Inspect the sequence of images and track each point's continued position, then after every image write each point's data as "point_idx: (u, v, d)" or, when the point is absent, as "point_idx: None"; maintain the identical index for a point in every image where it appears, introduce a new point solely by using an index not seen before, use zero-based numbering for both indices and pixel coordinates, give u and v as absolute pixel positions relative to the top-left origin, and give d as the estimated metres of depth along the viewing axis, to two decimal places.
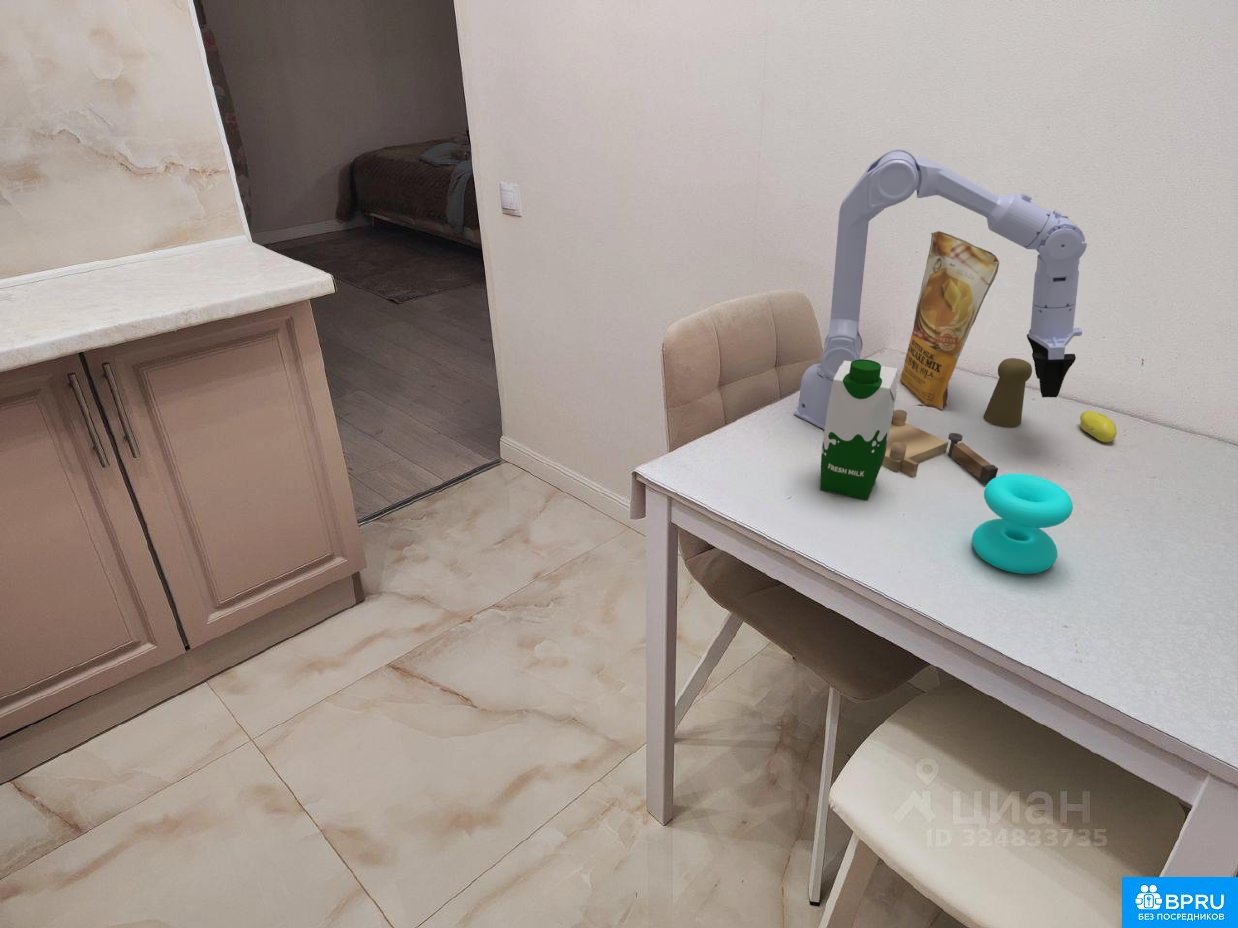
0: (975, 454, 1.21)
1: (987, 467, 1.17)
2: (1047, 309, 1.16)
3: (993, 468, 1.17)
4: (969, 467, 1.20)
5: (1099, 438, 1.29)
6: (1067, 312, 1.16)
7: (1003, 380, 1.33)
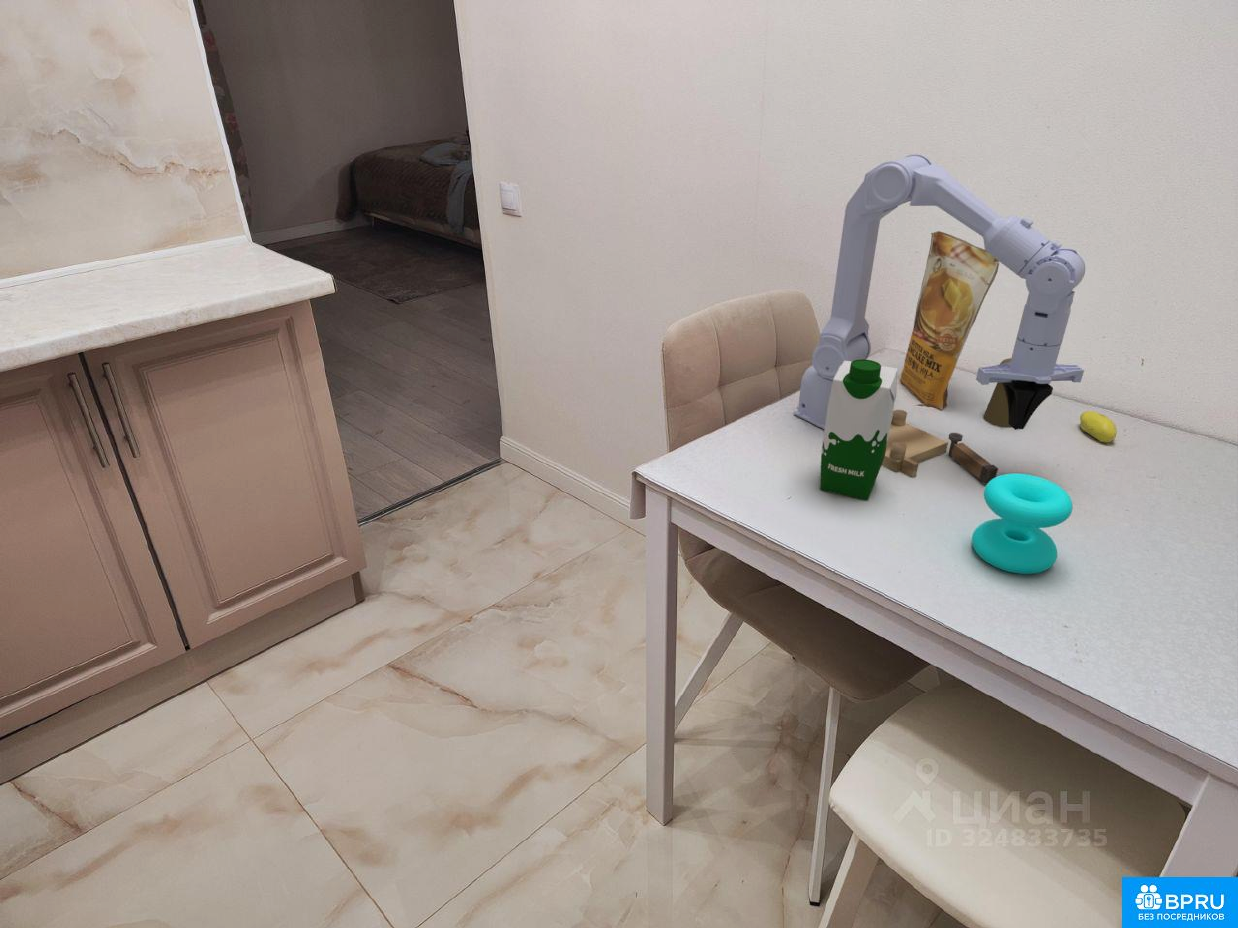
0: (975, 454, 1.21)
1: (987, 467, 1.17)
2: (1016, 338, 1.11)
3: (993, 468, 1.17)
4: (969, 467, 1.20)
5: (1099, 438, 1.29)
6: (1026, 349, 1.09)
7: None
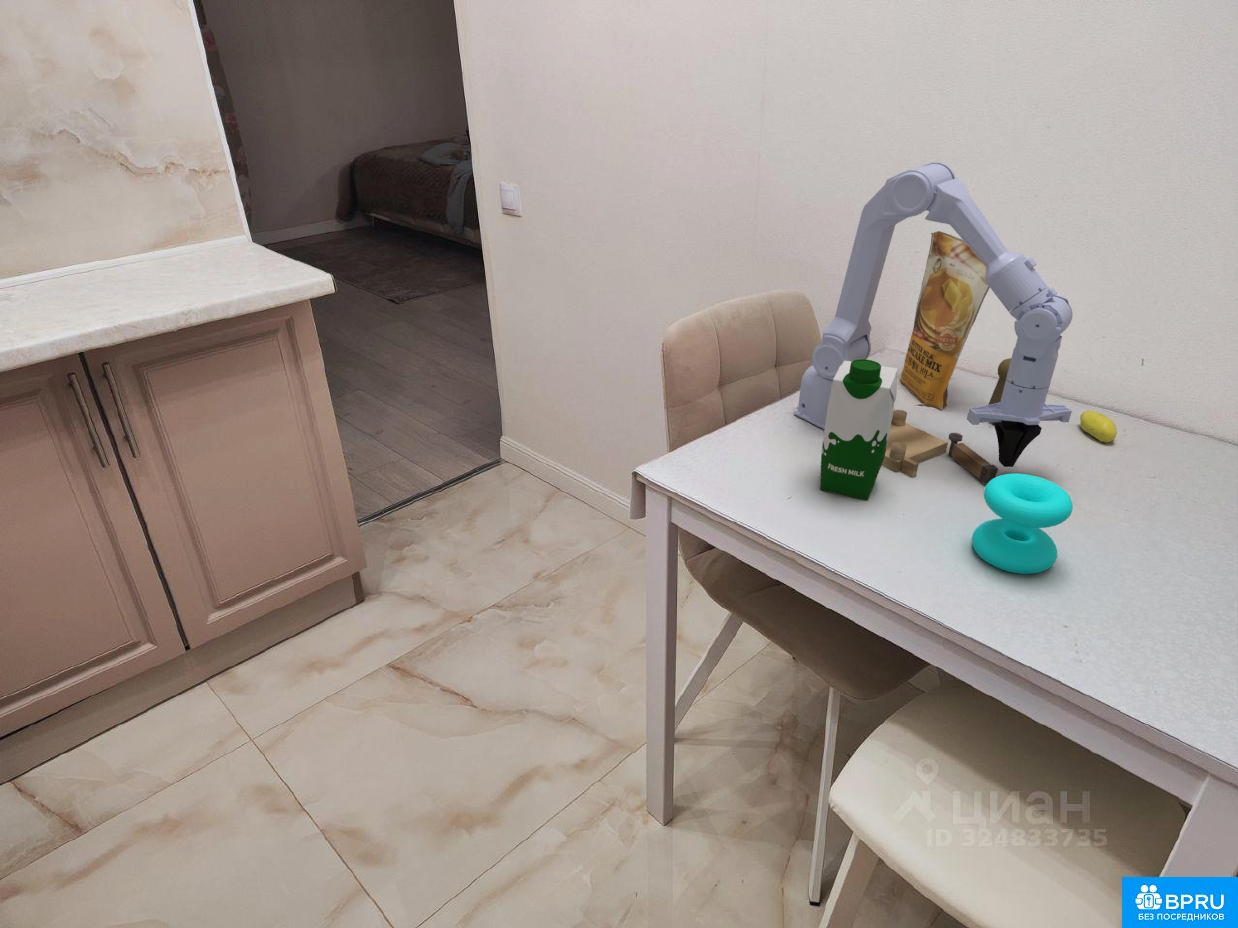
0: (975, 454, 1.21)
1: (987, 467, 1.17)
2: (1006, 379, 1.14)
3: (993, 468, 1.17)
4: (969, 467, 1.20)
5: (1099, 438, 1.29)
6: (1015, 391, 1.12)
7: (1003, 380, 1.33)
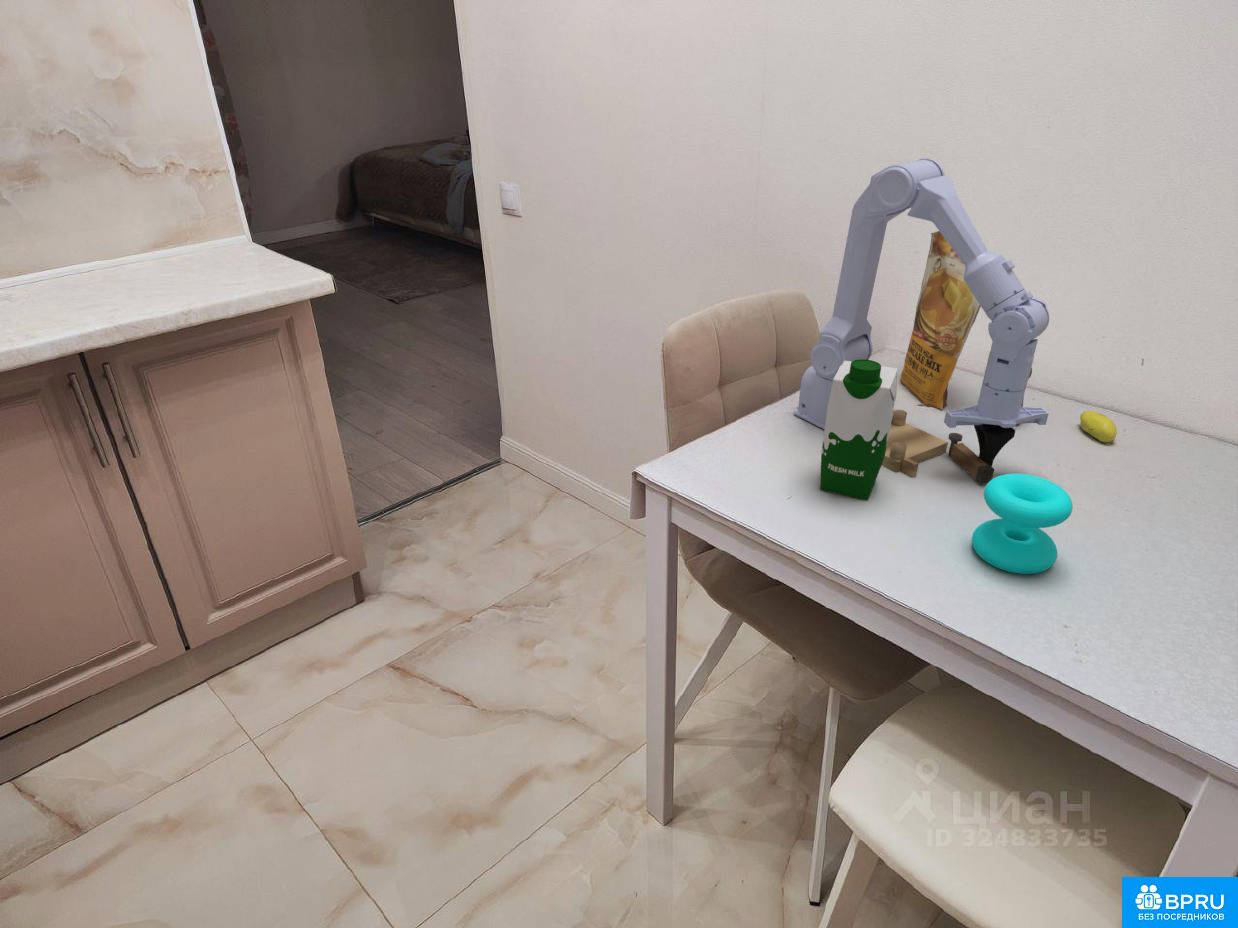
0: (973, 454, 1.21)
1: (983, 467, 1.17)
2: None
3: (989, 468, 1.16)
4: (966, 467, 1.20)
5: (1099, 438, 1.29)
6: (991, 394, 1.12)
7: None
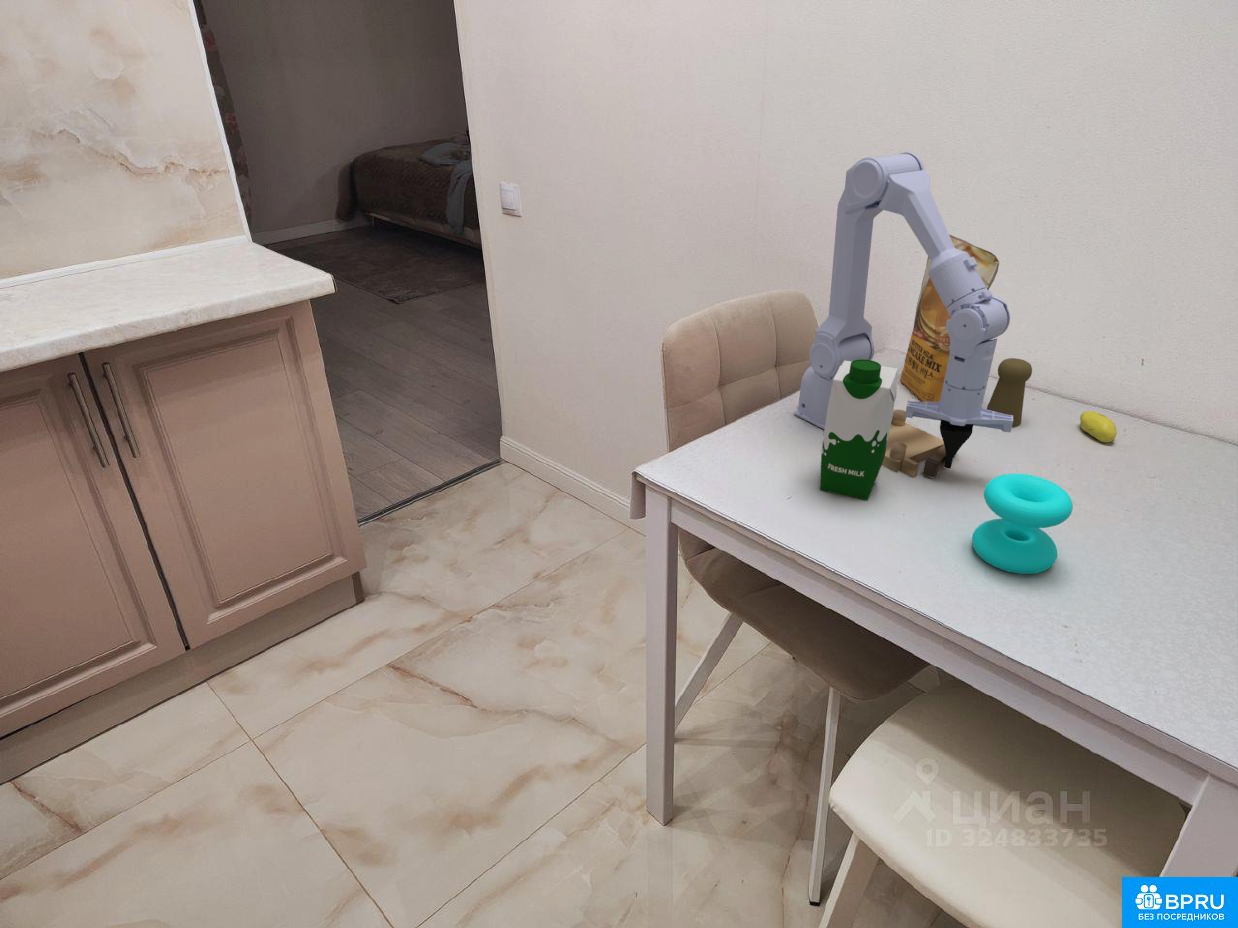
0: (945, 452, 1.21)
1: (929, 459, 1.19)
2: None
3: (933, 462, 1.18)
4: None
5: (1099, 438, 1.29)
6: (946, 389, 1.13)
7: (1003, 380, 1.33)
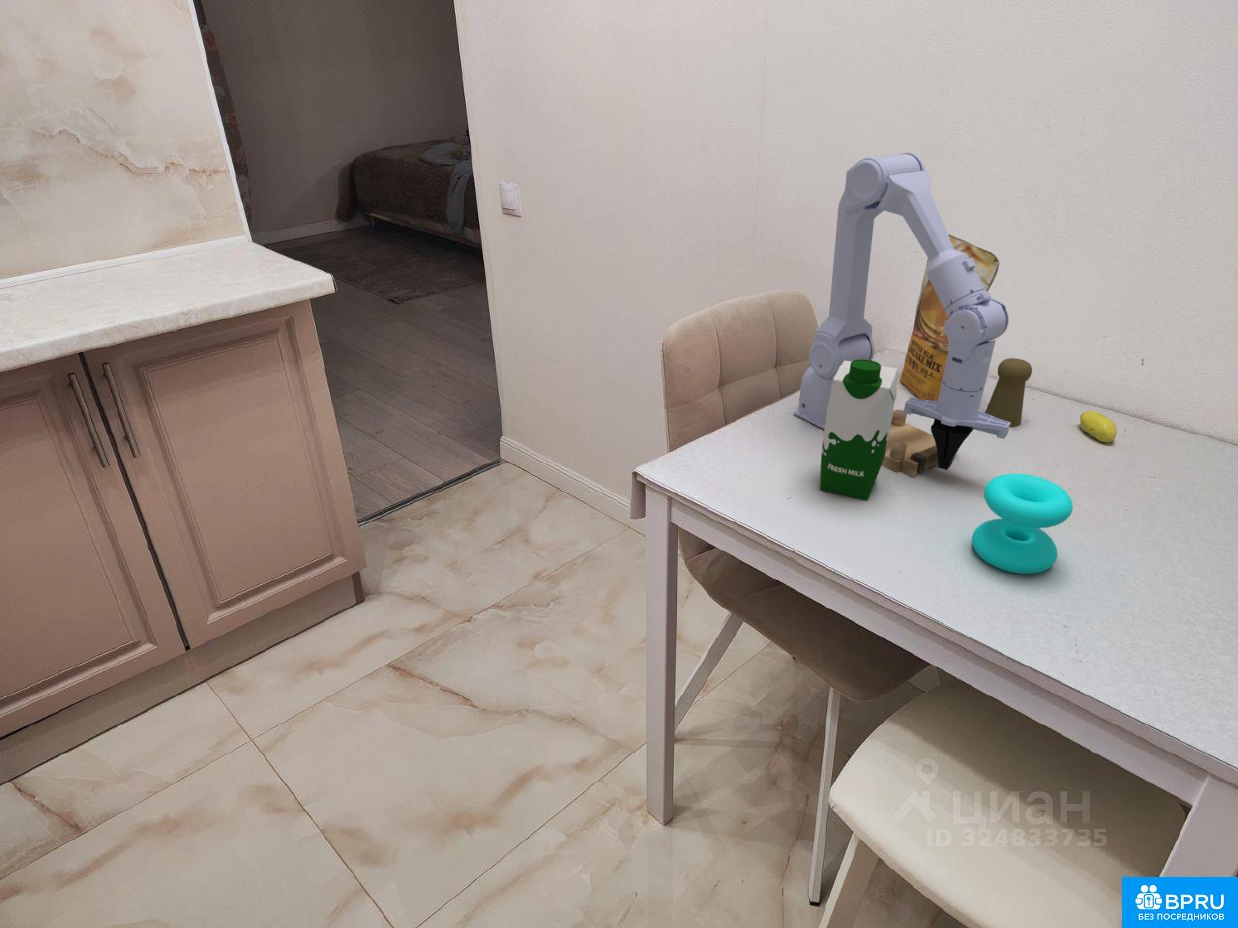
0: None
1: (916, 454, 1.20)
2: None
3: (918, 457, 1.20)
4: None
5: (1099, 438, 1.29)
6: (941, 389, 1.14)
7: (1003, 380, 1.33)
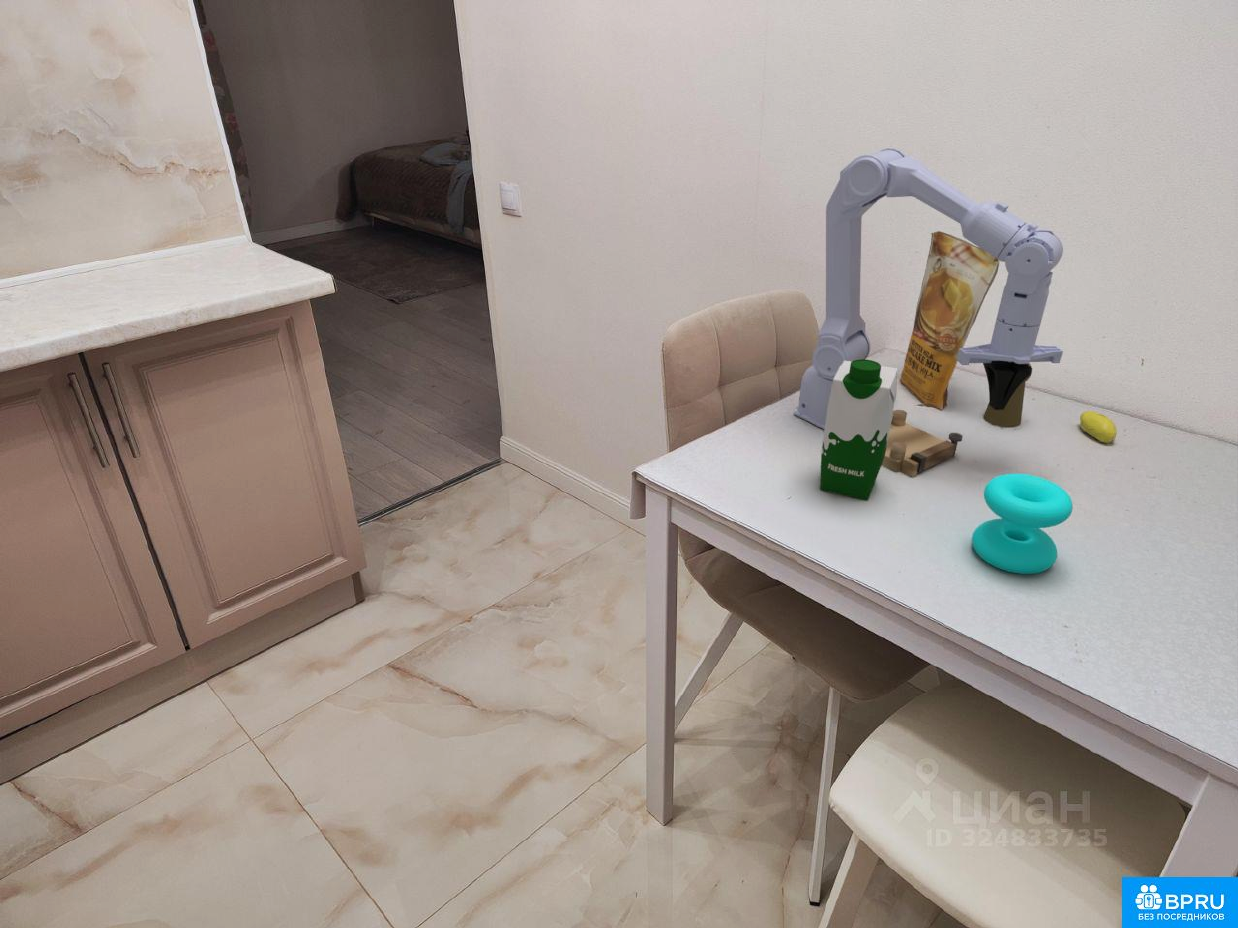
0: (938, 449, 1.22)
1: (916, 454, 1.20)
2: (996, 319, 1.13)
3: (918, 457, 1.20)
4: None
5: (1099, 438, 1.29)
6: (1006, 330, 1.11)
7: None
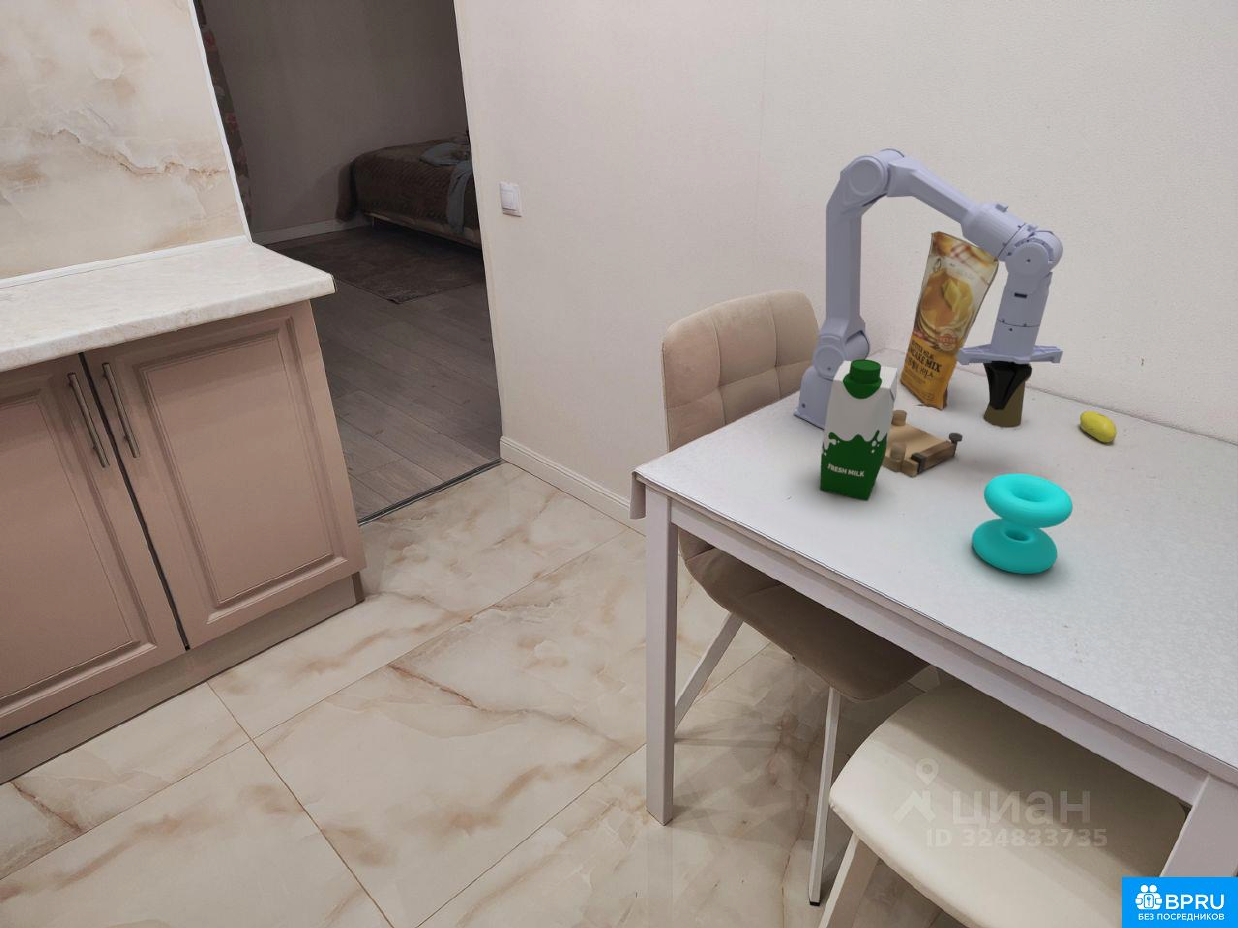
0: (938, 449, 1.22)
1: (916, 454, 1.20)
2: (996, 319, 1.13)
3: (918, 457, 1.20)
4: None
5: (1099, 438, 1.29)
6: (1006, 330, 1.11)
7: None
